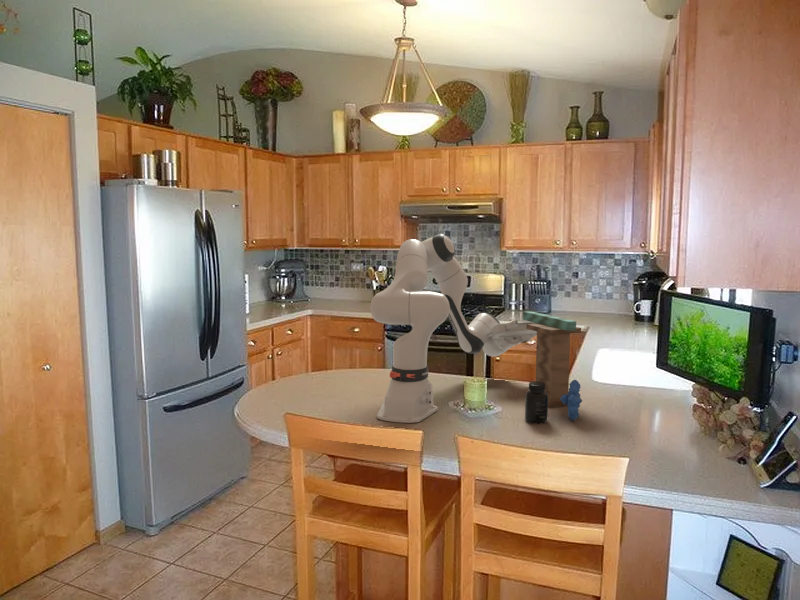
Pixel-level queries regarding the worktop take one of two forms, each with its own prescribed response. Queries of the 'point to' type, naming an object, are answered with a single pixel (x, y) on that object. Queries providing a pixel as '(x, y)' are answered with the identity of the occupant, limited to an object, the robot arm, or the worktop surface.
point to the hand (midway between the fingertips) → (527, 321)
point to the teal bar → (549, 320)
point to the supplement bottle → (536, 403)
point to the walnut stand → (553, 361)
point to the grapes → (572, 400)
